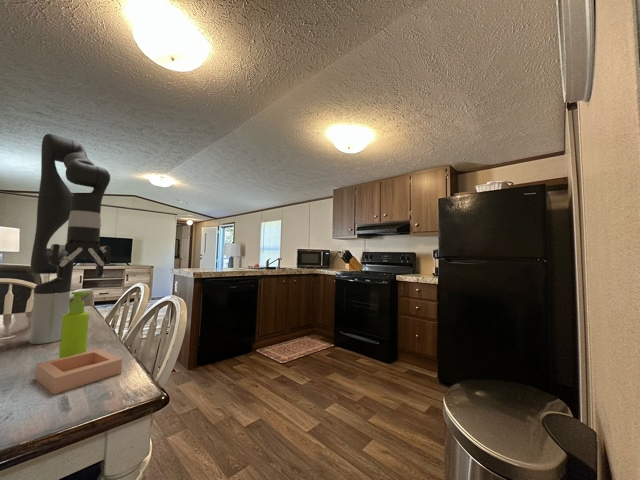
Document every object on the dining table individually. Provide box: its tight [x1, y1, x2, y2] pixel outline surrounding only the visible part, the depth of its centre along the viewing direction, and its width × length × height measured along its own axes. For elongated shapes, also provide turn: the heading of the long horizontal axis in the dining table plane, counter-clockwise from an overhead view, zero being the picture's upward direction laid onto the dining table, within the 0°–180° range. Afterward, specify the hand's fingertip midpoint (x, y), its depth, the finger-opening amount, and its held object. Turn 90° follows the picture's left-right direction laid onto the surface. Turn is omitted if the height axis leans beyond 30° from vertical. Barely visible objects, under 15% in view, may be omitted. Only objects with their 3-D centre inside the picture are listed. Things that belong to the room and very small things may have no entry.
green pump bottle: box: [58, 290, 92, 359], centre depth 79 cm, size 6×7×20 cm
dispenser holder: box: [34, 348, 123, 395], centre depth 67 cm, size 14×13×4 cm
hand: (80, 278), depth 80 cm, fingers open, 8 cm apart
